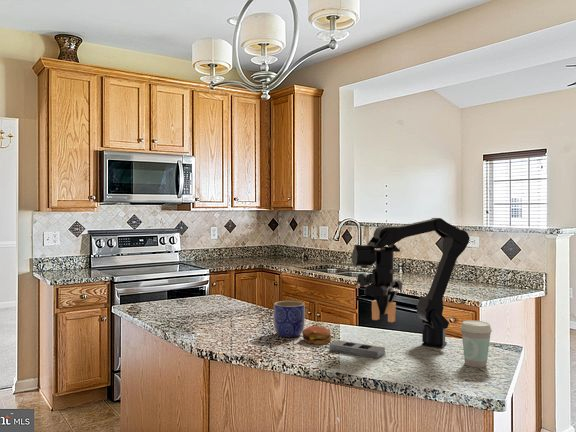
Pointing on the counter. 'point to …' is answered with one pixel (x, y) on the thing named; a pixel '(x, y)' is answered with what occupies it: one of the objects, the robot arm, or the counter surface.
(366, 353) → the rail
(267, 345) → the counter surface
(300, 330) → the planter
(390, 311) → the clip
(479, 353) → the coffee cup
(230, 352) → the counter surface
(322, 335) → the burger
